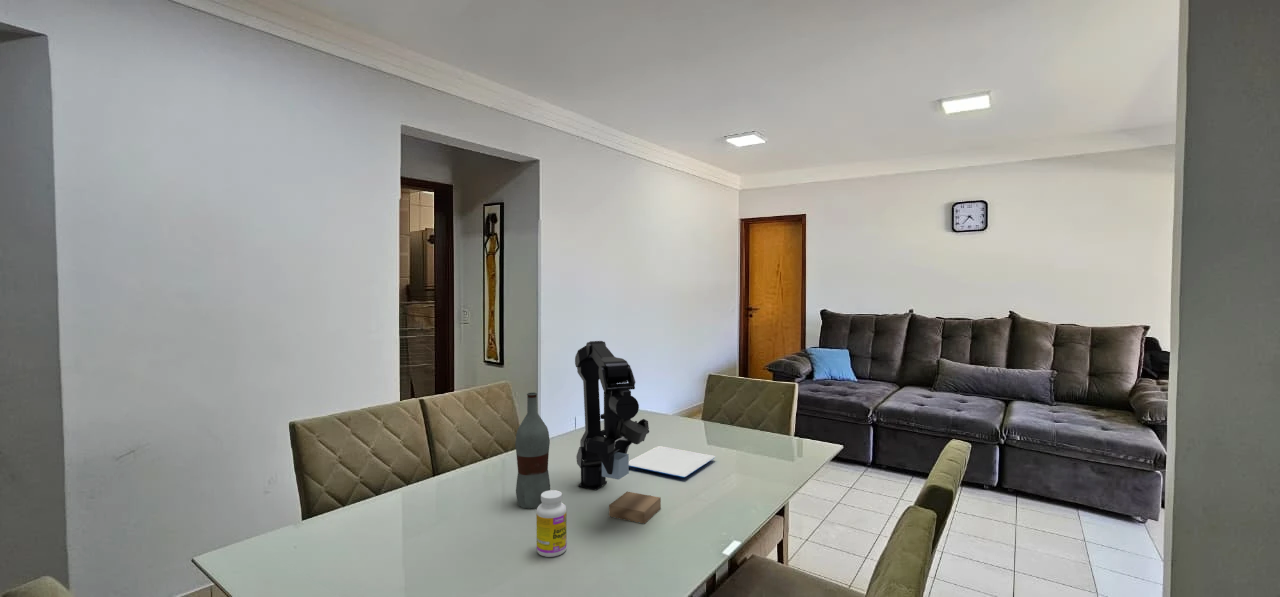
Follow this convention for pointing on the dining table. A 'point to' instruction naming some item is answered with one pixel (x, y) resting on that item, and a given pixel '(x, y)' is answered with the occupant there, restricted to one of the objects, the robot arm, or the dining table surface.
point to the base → (635, 507)
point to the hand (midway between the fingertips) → (615, 470)
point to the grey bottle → (532, 457)
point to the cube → (618, 466)
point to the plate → (670, 461)
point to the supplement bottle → (551, 524)
